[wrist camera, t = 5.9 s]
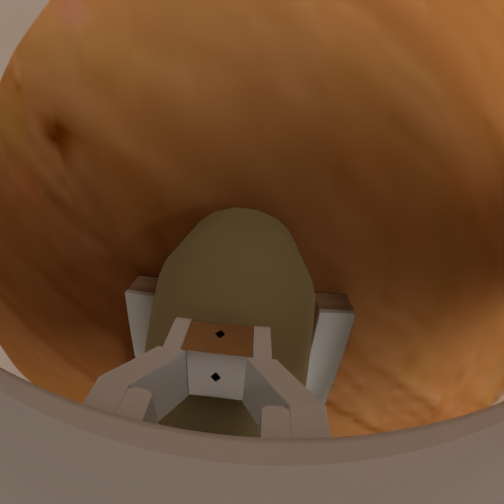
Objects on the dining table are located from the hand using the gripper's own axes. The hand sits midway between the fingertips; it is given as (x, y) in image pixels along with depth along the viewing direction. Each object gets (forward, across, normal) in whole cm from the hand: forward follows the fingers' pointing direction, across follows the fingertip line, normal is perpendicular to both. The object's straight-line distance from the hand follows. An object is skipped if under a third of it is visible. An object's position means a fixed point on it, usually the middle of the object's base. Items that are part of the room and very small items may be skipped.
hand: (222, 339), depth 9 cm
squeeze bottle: (+9, 0, 0) cm, 9 cm away
